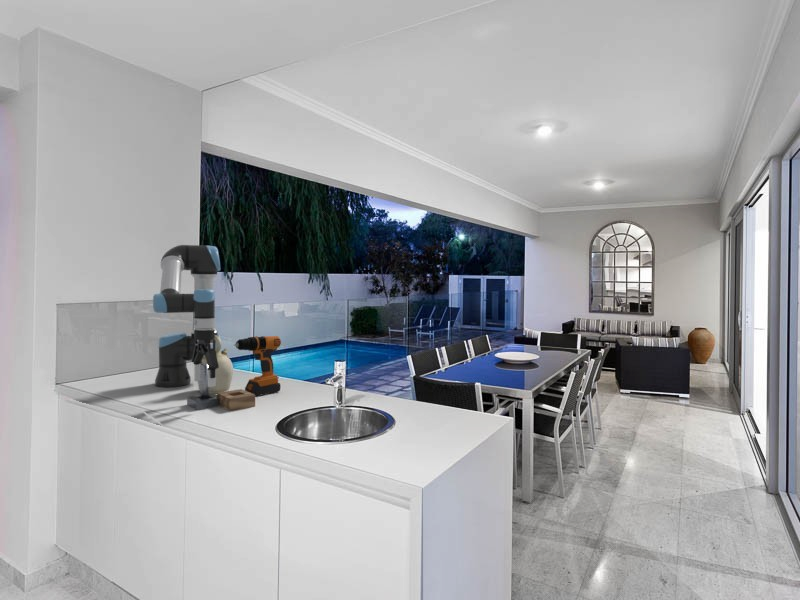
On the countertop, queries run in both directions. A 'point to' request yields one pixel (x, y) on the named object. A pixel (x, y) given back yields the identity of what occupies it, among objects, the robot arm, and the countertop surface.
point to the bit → (204, 381)
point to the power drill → (262, 363)
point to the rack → (236, 399)
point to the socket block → (203, 402)
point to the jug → (221, 369)
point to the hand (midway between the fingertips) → (204, 383)
